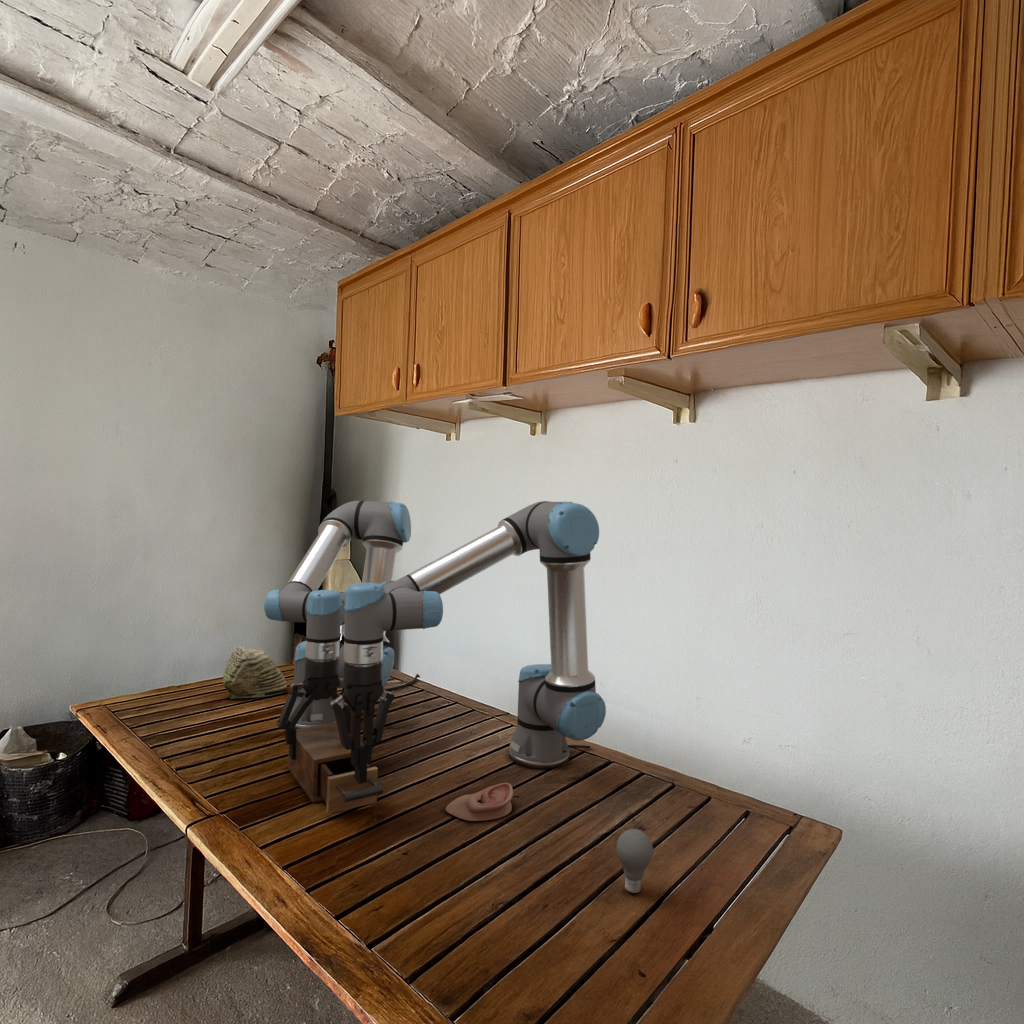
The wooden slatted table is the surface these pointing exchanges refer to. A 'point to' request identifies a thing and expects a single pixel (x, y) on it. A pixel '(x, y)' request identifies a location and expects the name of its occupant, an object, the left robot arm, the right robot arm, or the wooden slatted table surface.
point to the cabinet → (315, 755)
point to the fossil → (252, 674)
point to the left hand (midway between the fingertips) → (318, 752)
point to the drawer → (346, 785)
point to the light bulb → (634, 857)
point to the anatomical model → (483, 804)
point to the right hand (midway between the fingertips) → (360, 780)
